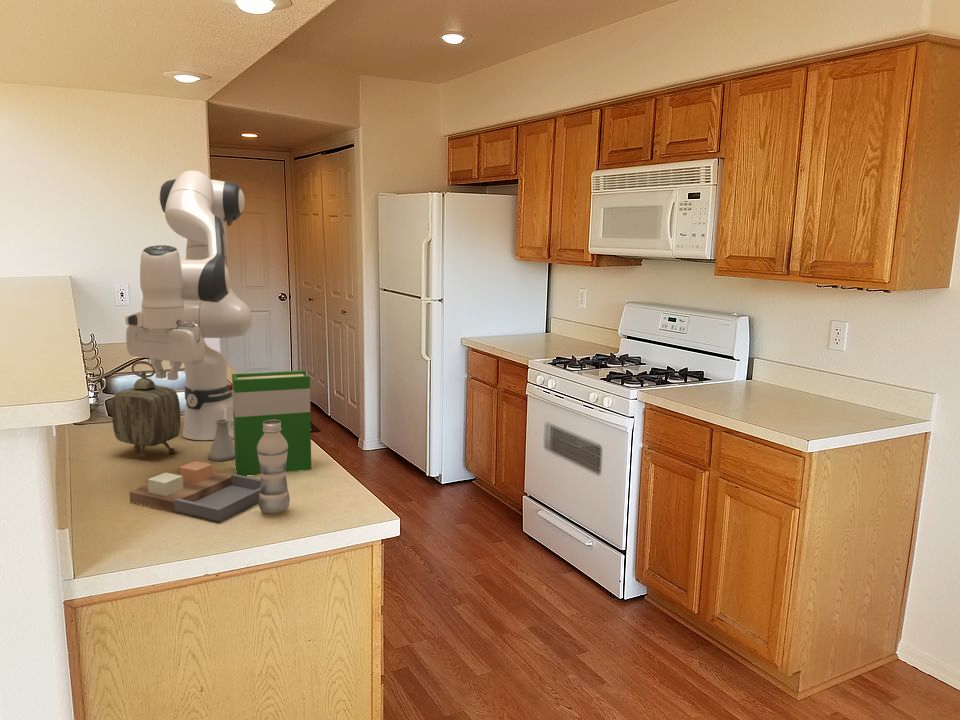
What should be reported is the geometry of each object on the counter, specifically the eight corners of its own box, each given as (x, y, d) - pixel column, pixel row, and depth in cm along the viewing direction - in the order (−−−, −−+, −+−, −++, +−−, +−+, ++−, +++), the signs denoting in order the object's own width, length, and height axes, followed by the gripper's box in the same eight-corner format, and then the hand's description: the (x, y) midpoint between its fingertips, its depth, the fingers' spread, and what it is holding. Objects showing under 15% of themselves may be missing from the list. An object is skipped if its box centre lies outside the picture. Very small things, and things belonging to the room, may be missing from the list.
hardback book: (306, 460, 191) (305, 370, 186) (311, 469, 184) (309, 376, 179) (235, 467, 184) (232, 374, 180) (237, 477, 177) (234, 380, 173)
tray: (234, 486, 171) (233, 473, 171) (275, 494, 167) (275, 482, 166) (175, 513, 155) (174, 499, 155) (219, 523, 151) (218, 510, 150)
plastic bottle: (295, 507, 160) (293, 419, 156) (280, 519, 153) (278, 427, 150) (268, 504, 161) (266, 416, 157) (252, 516, 155) (249, 425, 151)
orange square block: (196, 472, 172) (195, 460, 172) (212, 476, 170) (212, 464, 170) (180, 479, 168) (179, 467, 167) (196, 483, 166) (196, 470, 165)
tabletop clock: (182, 453, 194) (177, 360, 189) (159, 463, 185) (153, 367, 180) (136, 447, 197) (130, 356, 193) (111, 457, 189) (104, 362, 184)
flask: (228, 451, 197) (226, 415, 195) (243, 457, 192) (242, 420, 190) (203, 457, 191) (201, 420, 189) (218, 463, 187) (216, 425, 185)
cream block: (166, 485, 164) (165, 472, 163) (183, 488, 162) (182, 476, 162) (148, 492, 160) (147, 479, 159) (165, 496, 158) (165, 483, 157)
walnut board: (191, 477, 176) (191, 467, 176) (234, 486, 171) (234, 475, 171) (130, 502, 160) (129, 491, 160) (175, 513, 155) (174, 502, 155)
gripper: (209, 321, 164) (212, 381, 166) (142, 313, 172) (145, 371, 174) (188, 324, 158) (191, 386, 161) (119, 316, 166) (123, 376, 169)
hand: (167, 378), depth 168 cm, fingers open, 2 cm apart
